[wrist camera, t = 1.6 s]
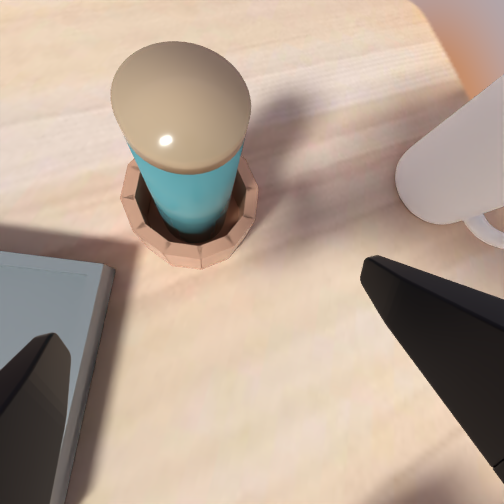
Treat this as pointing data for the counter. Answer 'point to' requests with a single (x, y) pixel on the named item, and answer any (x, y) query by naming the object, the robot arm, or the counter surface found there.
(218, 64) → the spice jar
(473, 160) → the mug
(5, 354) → the tray
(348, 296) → the counter surface
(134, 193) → the terracotta cup
